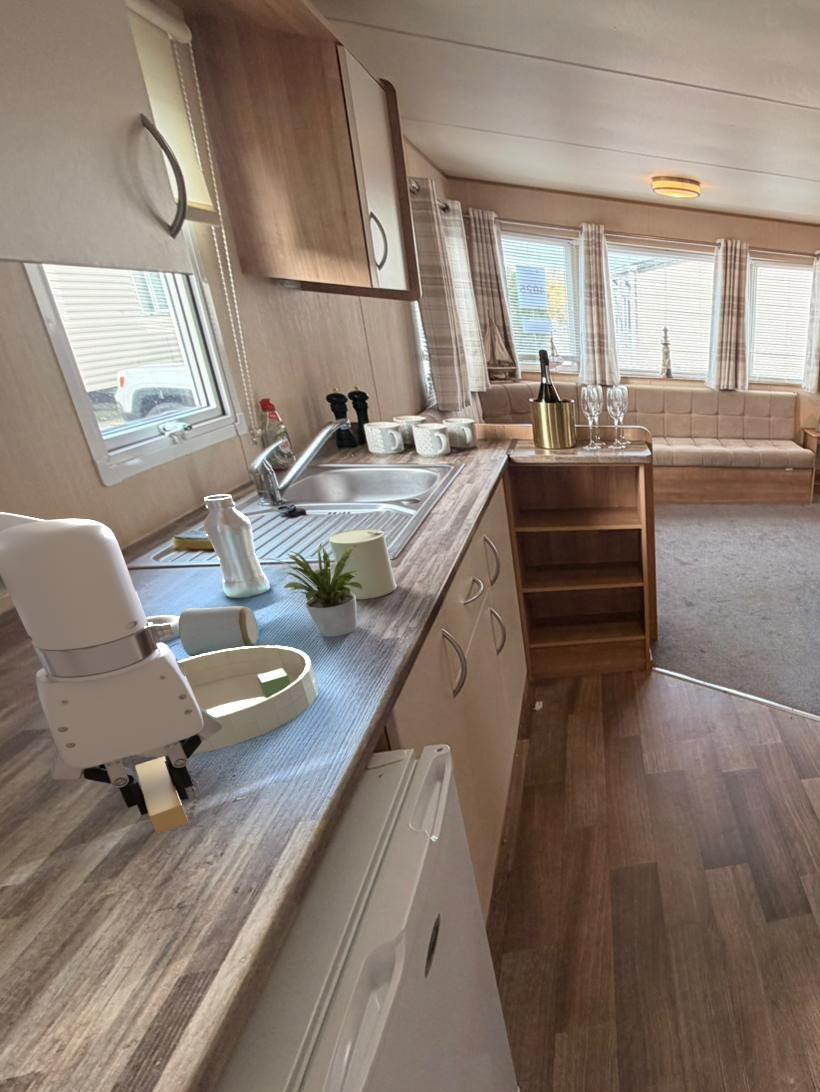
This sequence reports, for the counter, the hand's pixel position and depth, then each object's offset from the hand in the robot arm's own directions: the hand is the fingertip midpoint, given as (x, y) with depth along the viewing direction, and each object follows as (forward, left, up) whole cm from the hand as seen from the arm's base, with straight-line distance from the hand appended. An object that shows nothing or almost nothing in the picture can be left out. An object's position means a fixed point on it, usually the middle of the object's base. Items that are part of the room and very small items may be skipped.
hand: (163, 799), depth 68 cm
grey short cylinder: (-33, +33, -4) cm, 47 cm away
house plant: (-22, +41, -4) cm, 47 cm away
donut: (-45, +31, -4) cm, 55 cm away
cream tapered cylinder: (-30, +59, -4) cm, 67 cm away
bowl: (-15, +18, -4) cm, 24 cm away
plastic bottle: (-47, +49, -4) cm, 68 cm away
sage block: (-12, +23, -3) cm, 27 cm away
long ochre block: (0, 0, 0) cm, 0 cm away
